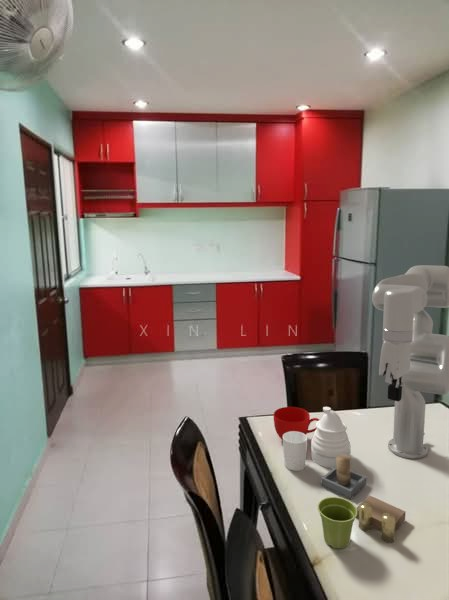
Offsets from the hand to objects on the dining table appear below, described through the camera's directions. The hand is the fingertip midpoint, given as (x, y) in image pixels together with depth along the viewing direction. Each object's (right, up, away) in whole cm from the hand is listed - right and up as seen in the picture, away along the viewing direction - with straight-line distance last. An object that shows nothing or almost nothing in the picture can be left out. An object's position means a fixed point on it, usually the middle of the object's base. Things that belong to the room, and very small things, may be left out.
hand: (394, 399), depth 117 cm
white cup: (-24, -27, +21) cm, 42 cm away
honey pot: (-11, -26, +25) cm, 38 cm away
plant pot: (-19, -32, -12) cm, 39 cm away
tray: (-11, -28, +10) cm, 32 cm away
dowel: (-11, -27, +10) cm, 31 cm away
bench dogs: (-9, -32, -10) cm, 34 cm away
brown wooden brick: (-6, -31, -5) cm, 32 cm away
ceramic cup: (-21, -24, +37) cm, 49 cm away
